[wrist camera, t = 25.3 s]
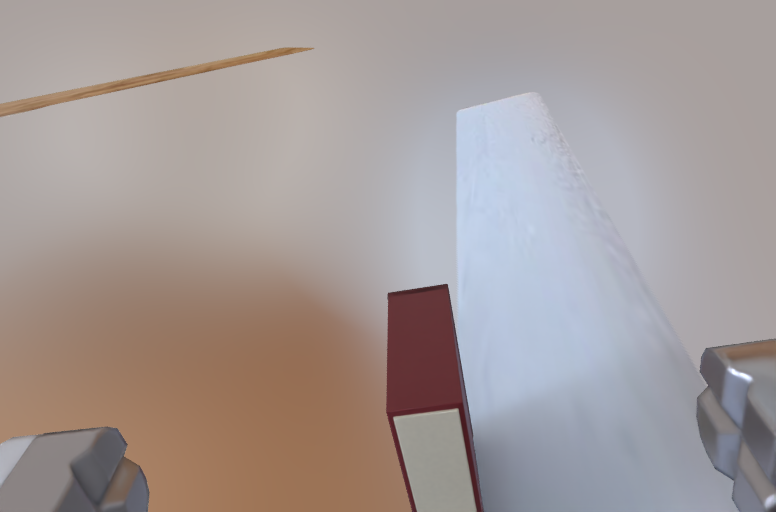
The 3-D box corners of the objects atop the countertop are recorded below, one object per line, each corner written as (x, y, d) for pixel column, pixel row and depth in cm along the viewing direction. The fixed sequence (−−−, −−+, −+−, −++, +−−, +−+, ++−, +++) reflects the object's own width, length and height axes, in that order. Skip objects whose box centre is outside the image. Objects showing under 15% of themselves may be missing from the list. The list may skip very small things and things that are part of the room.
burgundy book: (472, 431, 47) (447, 283, 40) (492, 568, 38) (464, 403, 31) (420, 438, 48) (387, 292, 41) (427, 575, 38) (385, 414, 31)
